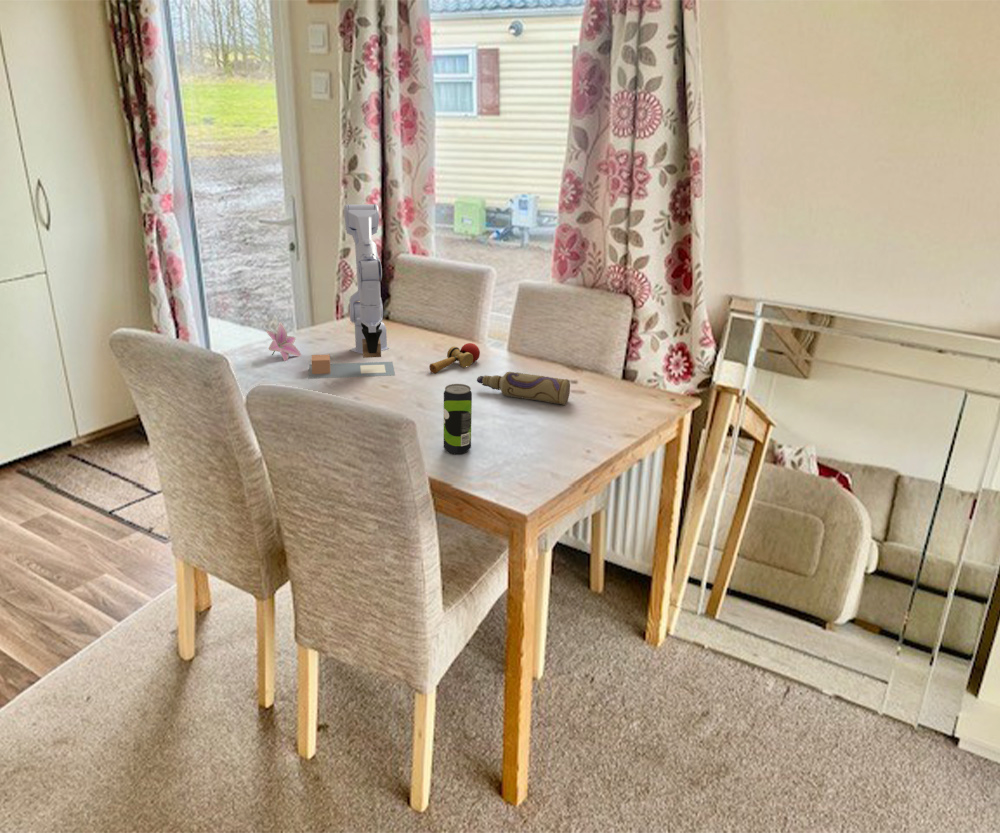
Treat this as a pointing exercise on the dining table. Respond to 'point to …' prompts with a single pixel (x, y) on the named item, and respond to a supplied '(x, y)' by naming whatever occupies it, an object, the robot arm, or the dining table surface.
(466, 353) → the kendama
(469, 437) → the beverage can
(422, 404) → the dining table surface
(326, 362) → the terracotta block
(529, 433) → the dining table surface
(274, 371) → the dining table surface
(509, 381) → the decorative bottle
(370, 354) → the walnut block
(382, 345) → the robot arm
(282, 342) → the lily
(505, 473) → the dining table surface
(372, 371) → the board
